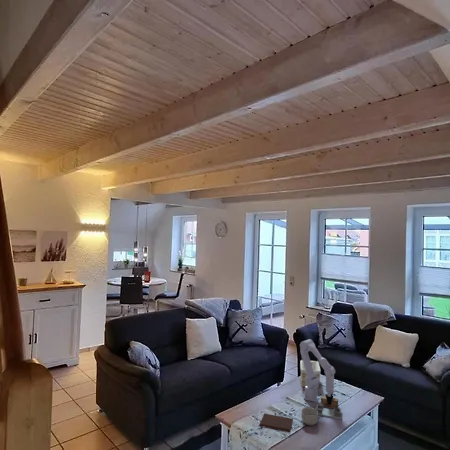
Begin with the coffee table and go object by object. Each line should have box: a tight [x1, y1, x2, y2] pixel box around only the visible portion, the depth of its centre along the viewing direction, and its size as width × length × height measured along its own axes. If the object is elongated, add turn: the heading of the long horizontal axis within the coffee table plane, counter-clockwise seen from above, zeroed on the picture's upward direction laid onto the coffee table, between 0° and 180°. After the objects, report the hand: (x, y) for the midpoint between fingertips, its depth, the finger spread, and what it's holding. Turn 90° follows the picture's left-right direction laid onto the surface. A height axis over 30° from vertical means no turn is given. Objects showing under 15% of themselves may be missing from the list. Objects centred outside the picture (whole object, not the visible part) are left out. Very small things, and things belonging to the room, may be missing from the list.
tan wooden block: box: [320, 395, 339, 410], centre depth 256 cm, size 12×4×6 cm, turn 68°
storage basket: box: [299, 359, 321, 389], centre depth 297 cm, size 24×16×15 cm
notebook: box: [259, 413, 294, 433], centre depth 232 cm, size 15×20×2 cm
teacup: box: [300, 406, 319, 426], centre depth 234 cm, size 14×11×8 cm
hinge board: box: [315, 403, 343, 420], centre depth 246 cm, size 18×10×4 cm, turn 70°
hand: (329, 402), depth 256 cm, fingers open, 7 cm apart
